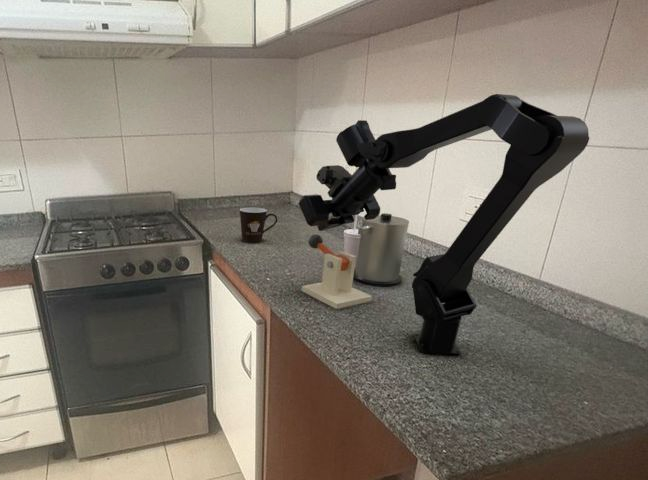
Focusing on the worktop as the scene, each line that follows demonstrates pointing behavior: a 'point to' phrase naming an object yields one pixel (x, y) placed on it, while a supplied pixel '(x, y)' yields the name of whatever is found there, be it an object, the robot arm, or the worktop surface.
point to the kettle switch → (326, 249)
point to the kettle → (381, 251)
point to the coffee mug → (253, 224)
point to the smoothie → (352, 241)
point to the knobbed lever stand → (337, 283)
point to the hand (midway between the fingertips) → (319, 229)
